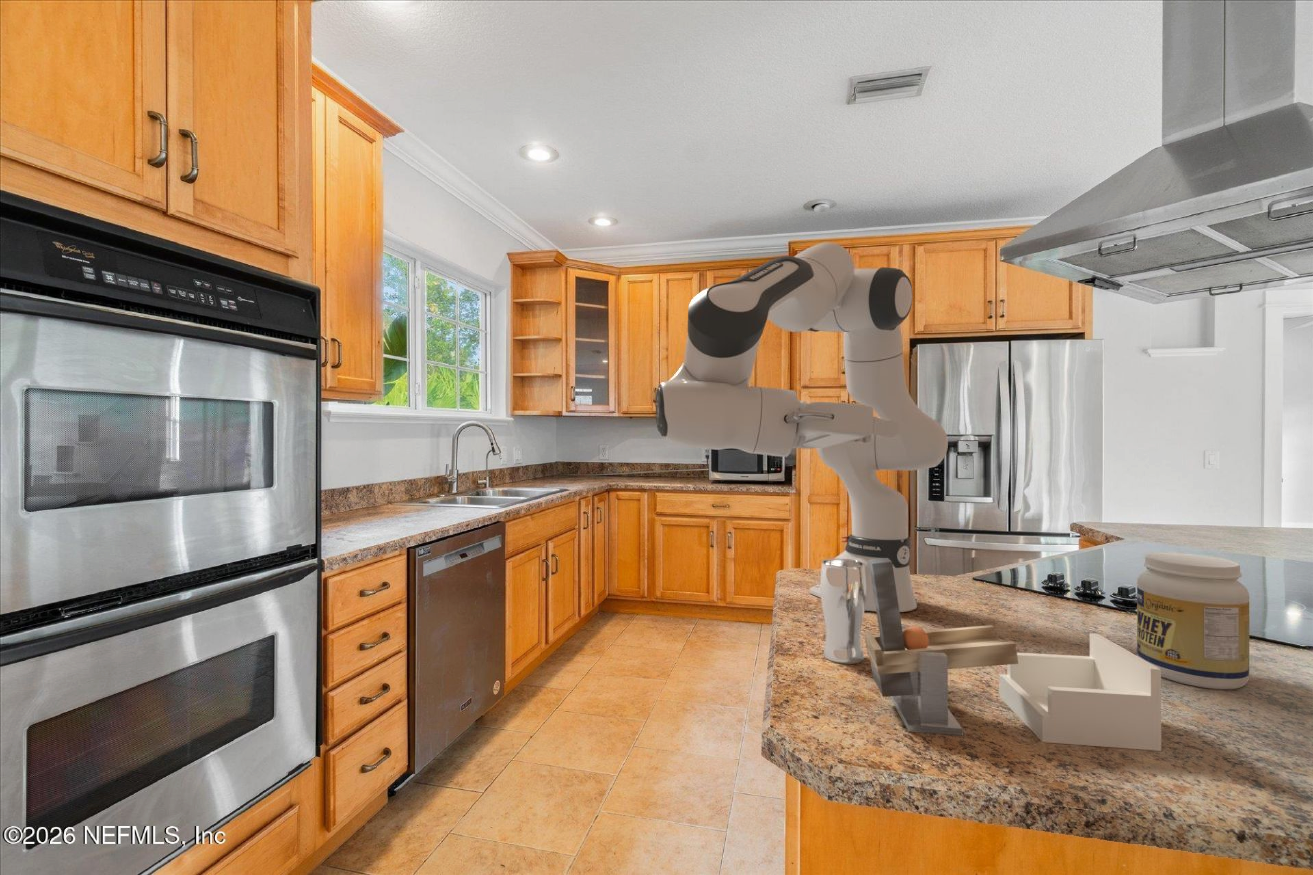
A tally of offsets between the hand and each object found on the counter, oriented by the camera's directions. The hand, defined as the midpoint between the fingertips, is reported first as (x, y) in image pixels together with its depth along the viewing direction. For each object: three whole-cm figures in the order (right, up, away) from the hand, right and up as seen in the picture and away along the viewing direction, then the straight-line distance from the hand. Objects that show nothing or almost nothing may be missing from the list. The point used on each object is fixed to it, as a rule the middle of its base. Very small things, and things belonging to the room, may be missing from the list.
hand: (882, 433), depth 77 cm
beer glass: (0, -36, +16) cm, 39 cm away
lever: (+6, -31, -3) cm, 32 cm away
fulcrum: (+4, -35, -2) cm, 36 cm away
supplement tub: (+49, -35, +9) cm, 61 cm away
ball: (+3, -26, -2) cm, 27 cm away
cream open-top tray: (+21, -35, -5) cm, 41 cm away
